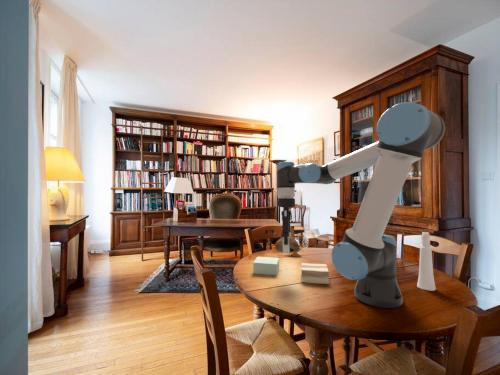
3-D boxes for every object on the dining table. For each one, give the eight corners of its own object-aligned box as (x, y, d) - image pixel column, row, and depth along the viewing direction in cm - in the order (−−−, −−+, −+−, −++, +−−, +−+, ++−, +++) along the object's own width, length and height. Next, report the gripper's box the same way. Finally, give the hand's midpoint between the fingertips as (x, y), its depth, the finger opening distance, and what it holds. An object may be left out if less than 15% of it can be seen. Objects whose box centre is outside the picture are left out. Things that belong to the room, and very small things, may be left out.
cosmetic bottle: (419, 283, 101) (418, 230, 102) (437, 288, 97) (436, 232, 97) (415, 287, 97) (414, 232, 98) (433, 292, 93) (433, 234, 93)
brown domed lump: (278, 261, 100) (281, 245, 97) (270, 246, 109) (273, 231, 106) (300, 259, 102) (304, 244, 99) (291, 245, 112) (294, 230, 109)
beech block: (328, 284, 100) (328, 271, 100) (301, 281, 103) (301, 270, 103) (326, 275, 111) (326, 264, 111) (301, 273, 113) (301, 262, 114)
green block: (276, 275, 111) (276, 264, 111) (253, 273, 113) (253, 262, 113) (279, 267, 122) (279, 257, 122) (257, 266, 124) (257, 256, 124)
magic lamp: (279, 252, 154) (279, 234, 154) (308, 254, 148) (308, 236, 148) (276, 254, 147) (276, 236, 148) (307, 257, 142) (307, 238, 142)
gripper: (294, 197, 93) (295, 256, 92) (295, 197, 116) (296, 244, 115) (274, 198, 95) (275, 255, 94) (279, 197, 117) (280, 244, 116)
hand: (287, 249), depth 104 cm, fingers closed on brown domed lump, 10 cm apart
